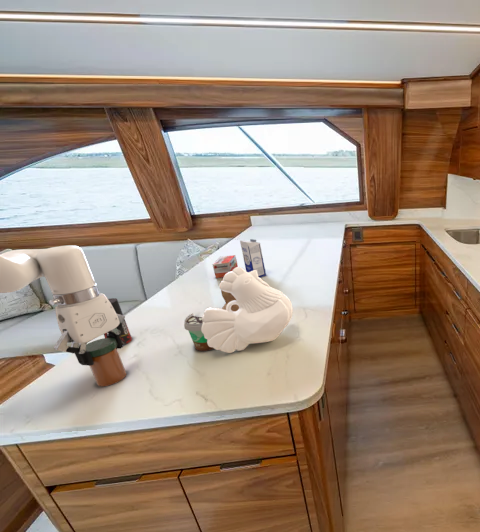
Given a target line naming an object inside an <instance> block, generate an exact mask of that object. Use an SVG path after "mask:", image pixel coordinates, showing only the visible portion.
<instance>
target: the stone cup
mask: <svg viewBox="0 0 480 532" xmlns="http://www.w3.org/2000/svg"><path fill="white" fill-rule="evenodd" d="M222 281H223V278H222V279H221V280H220V283H221V282H222ZM220 292H221V296H222V298H223V300H224V302H225V303H224V304H223V306H222V307H221V309H224V310H226V306H227V304H228V303H229V302H231V301H233V300H236V299H235V298H234V296H233V295H232V294H231V293H228V292H224V291H222V290H221V289H220ZM238 309H239V306H238V305H236V304H234V305H232V306H231V310H232V311H237V310H238Z"/></svg>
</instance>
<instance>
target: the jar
mask: <svg viewBox="0 0 480 532" xmlns="http://www.w3.org/2000/svg"><path fill="white" fill-rule="evenodd" d="M118 350H119V349H117V347H116V348H115V349H114V350H112V351H110V352H108V353H106V354H104V355H101V356H97V357H92V359H93V362H94V364H93V365H91V366H89V369H90V371H91V373H92V376H93V378H94V380H95V383H96V385H97V386H98V387H108V386H111V385H114V384H116V383H119V382H121V381H122V380H123V379H125V377H127V370H126V367H125V365H124V363H123V360H122V358H121V356H120V353H119V351H118Z"/></svg>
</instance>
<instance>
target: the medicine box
mask: <svg viewBox="0 0 480 532" xmlns="http://www.w3.org/2000/svg"><path fill="white" fill-rule="evenodd" d="M237 260H238V259H237V257H236V254H234V255H225V256H224V255H223V256H219V257H218V258H217V259H216V260H215V261H214V262H213V263H212V264H211V265H212V268H213V272H214V276H215V279H219V278H223V277H224V275H225V274H226V273H228V272H230V271H233V269H234V268H236V267H239V264H238V261H237Z"/></svg>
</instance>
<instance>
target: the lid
mask: <svg viewBox="0 0 480 532" xmlns="http://www.w3.org/2000/svg"><path fill="white" fill-rule="evenodd" d="M117 345H118V344H117V341H116V340H115V338H105V337H104V338H100V339H95V340H92V341H89V342H87V344H86V351H89V352H90V355H91V357H97V356H101V355H104V354H106V353H108V352H110V351H112V350H114V349H115V348H116V347H117Z"/></svg>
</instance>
